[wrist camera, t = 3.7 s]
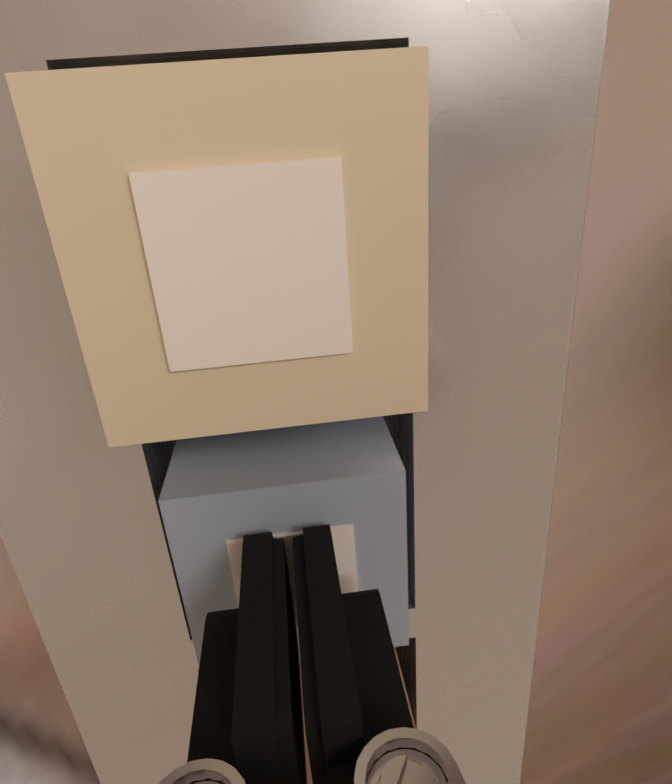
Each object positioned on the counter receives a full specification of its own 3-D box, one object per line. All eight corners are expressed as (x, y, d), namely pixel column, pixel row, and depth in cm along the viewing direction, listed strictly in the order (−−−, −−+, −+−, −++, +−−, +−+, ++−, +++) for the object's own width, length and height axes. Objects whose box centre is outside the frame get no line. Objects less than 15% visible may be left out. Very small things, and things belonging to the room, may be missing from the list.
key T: (372, 393, 13) (407, 473, 10) (379, 540, 15) (410, 648, 12) (184, 414, 13) (157, 504, 10) (215, 562, 15) (200, 680, 12)
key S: (373, 79, 9) (431, 44, 6) (382, 334, 11) (430, 414, 8) (97, 98, 9) (0, 71, 6) (154, 358, 11) (106, 451, 8)
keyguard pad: (532, -36, 11) (620, -95, 8) (478, 803, 23) (507, 893, 20) (-103, -2, 10) (-240, -56, 7) (182, 854, 22) (170, 955, 19)
